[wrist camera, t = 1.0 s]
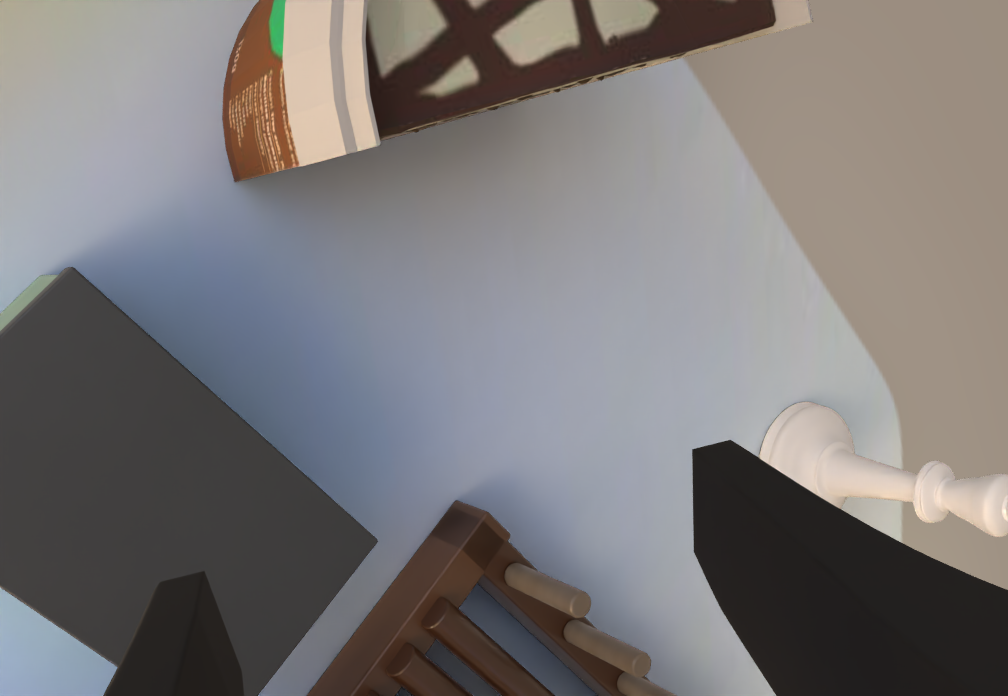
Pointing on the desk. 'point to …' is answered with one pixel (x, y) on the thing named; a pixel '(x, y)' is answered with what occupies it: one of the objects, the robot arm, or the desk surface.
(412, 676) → the dish rack
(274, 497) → the box
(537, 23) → the food container
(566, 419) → the desk surface
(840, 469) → the chess piece
